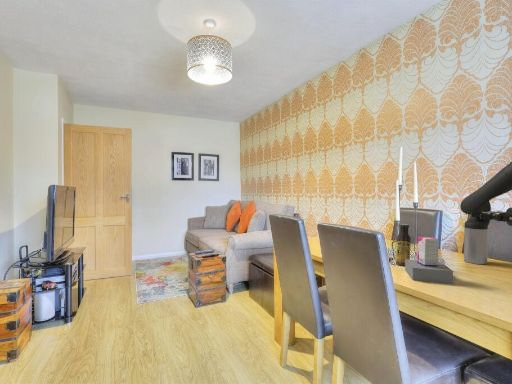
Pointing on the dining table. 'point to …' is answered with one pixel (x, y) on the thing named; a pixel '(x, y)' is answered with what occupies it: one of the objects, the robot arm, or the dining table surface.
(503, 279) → the dining table surface
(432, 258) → the supplement box
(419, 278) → the podium
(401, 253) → the sauce bottle
